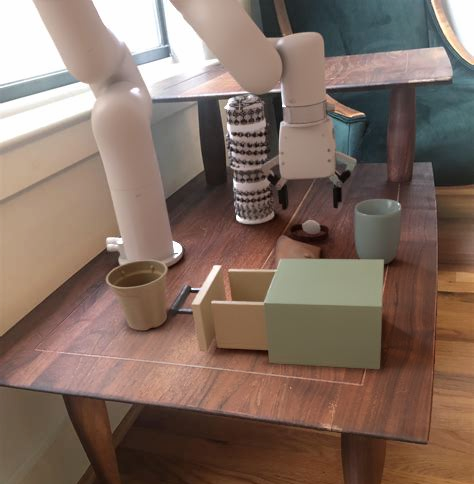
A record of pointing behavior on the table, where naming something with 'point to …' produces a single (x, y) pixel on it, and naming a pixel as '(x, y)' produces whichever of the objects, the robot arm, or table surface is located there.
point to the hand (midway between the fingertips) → (310, 206)
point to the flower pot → (141, 292)
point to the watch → (309, 232)
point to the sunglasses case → (294, 250)
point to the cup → (377, 229)
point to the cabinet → (325, 313)
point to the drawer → (229, 309)
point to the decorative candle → (249, 159)
